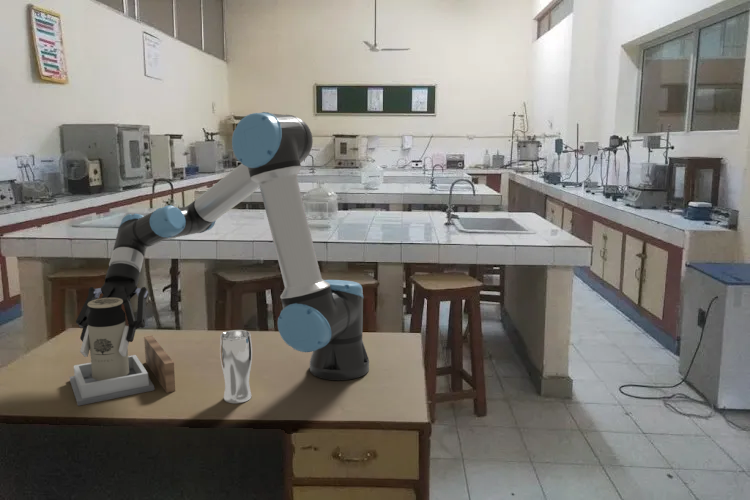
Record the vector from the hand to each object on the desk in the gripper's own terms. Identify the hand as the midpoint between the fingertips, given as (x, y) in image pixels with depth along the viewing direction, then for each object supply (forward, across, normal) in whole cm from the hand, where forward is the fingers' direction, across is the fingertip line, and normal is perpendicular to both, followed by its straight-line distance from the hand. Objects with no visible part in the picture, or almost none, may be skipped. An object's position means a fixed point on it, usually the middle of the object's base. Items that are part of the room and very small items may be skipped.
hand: (103, 354), depth 134 cm
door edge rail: (0, -10, -13) cm, 16 cm away
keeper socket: (+4, 0, -9) cm, 10 cm away
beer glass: (+10, -31, -4) cm, 32 cm away
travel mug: (+2, 0, -7) cm, 8 cm away
